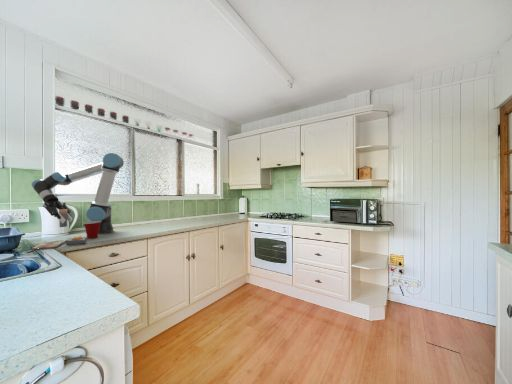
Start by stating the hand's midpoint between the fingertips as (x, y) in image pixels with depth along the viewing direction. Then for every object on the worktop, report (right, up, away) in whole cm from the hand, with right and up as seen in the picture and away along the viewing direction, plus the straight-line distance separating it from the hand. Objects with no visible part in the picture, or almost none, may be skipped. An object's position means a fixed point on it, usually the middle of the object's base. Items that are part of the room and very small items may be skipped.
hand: (67, 221), depth 152 cm
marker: (-4, -4, +1) cm, 5 cm away
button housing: (+16, -13, -11) cm, 23 cm away
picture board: (+5, -13, -17) cm, 22 cm away
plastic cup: (+13, -13, +6) cm, 19 cm away
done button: (+16, -11, -11) cm, 22 cm away
